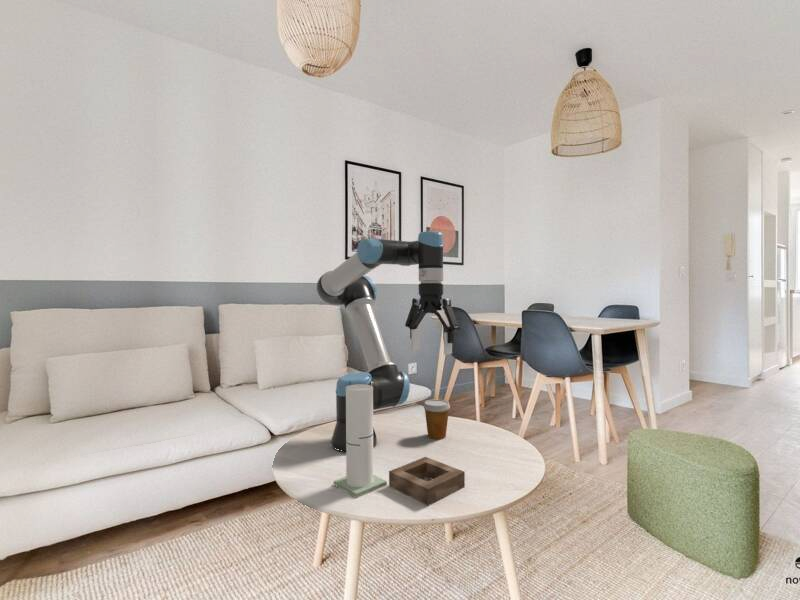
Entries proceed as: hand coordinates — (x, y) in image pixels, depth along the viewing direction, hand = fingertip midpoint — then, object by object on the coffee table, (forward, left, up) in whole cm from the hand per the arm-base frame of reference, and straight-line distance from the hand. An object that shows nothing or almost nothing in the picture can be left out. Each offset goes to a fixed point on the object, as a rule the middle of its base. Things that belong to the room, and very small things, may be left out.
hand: (431, 352), depth 129 cm
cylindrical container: (-1, -27, -32) cm, 42 cm away
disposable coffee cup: (-12, +16, -33) cm, 39 cm away
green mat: (-1, -27, -33) cm, 42 cm away
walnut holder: (+12, -15, -33) cm, 38 cm away
